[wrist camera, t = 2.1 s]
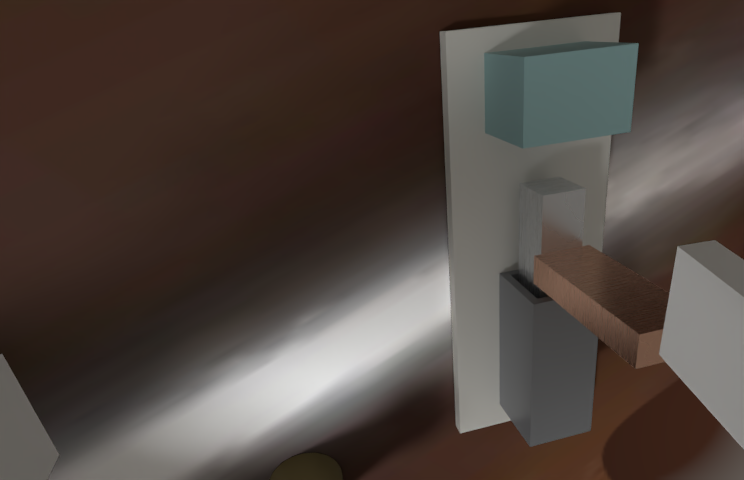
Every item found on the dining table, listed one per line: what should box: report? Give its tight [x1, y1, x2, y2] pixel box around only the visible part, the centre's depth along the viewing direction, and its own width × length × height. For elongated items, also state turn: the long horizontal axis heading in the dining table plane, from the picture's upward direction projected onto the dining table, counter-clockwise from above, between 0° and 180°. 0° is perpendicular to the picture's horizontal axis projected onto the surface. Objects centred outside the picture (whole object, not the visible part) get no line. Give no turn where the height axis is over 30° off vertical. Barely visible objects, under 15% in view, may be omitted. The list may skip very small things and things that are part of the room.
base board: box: [440, 12, 621, 433], centre depth 40 cm, size 31×12×1 cm, turn 5°
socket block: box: [484, 41, 639, 149], centre depth 33 cm, size 5×7×5 cm
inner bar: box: [518, 177, 669, 369], centre depth 34 cm, size 16×4×13 cm, turn 5°
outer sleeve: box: [499, 270, 598, 447], centre depth 40 cm, size 12×5×5 cm, turn 5°
